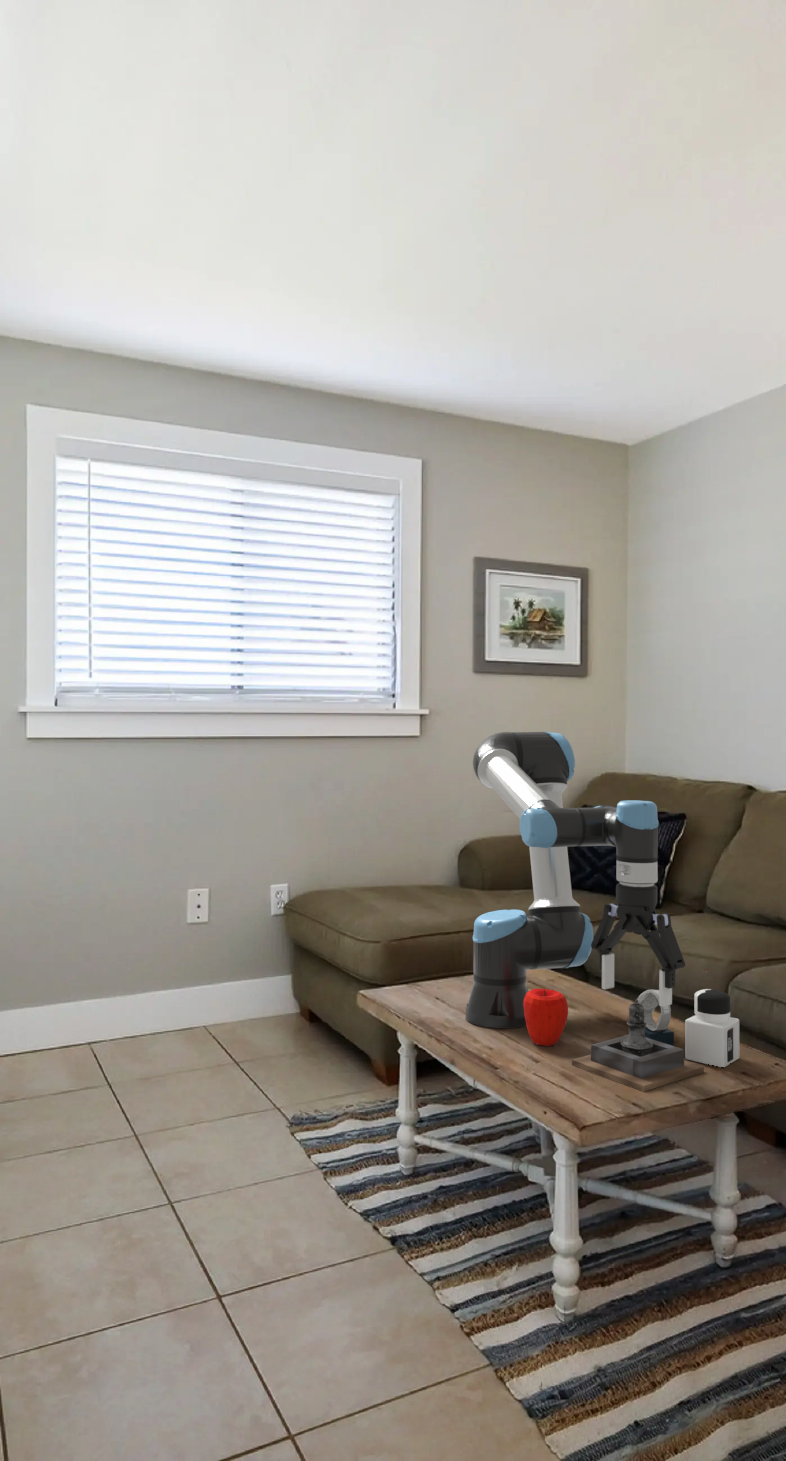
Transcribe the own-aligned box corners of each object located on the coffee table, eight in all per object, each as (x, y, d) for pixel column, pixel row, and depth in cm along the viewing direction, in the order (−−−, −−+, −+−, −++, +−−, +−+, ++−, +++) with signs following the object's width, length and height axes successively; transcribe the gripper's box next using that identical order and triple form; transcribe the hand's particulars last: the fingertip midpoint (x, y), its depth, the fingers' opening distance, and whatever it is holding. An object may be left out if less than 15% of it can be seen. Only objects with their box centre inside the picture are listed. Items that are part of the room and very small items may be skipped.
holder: (571, 1065, 180) (571, 1044, 180) (631, 1048, 190) (631, 1028, 190) (643, 1091, 166) (643, 1068, 166) (703, 1072, 176) (703, 1050, 176)
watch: (656, 1038, 197) (656, 984, 197) (678, 1050, 189) (678, 994, 189) (632, 1040, 195) (632, 986, 195) (654, 1052, 188) (654, 996, 188)
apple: (574, 1041, 195) (573, 988, 195) (557, 1052, 187) (557, 997, 188) (533, 1034, 200) (533, 982, 200) (516, 1045, 192) (516, 991, 192)
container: (740, 1058, 184) (739, 991, 184) (723, 1069, 178) (723, 999, 178) (701, 1050, 189) (701, 984, 189) (684, 1060, 183) (684, 992, 184)
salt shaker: (618, 1066, 177) (617, 1001, 177) (623, 1056, 182) (623, 993, 182) (650, 1070, 174) (650, 1004, 175) (655, 1060, 180) (654, 996, 180)
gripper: (573, 876, 187) (572, 984, 187) (679, 895, 166) (678, 1016, 167) (599, 873, 191) (598, 978, 191) (705, 891, 171) (704, 1009, 171)
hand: (635, 996), depth 179 cm, fingers open, 13 cm apart
